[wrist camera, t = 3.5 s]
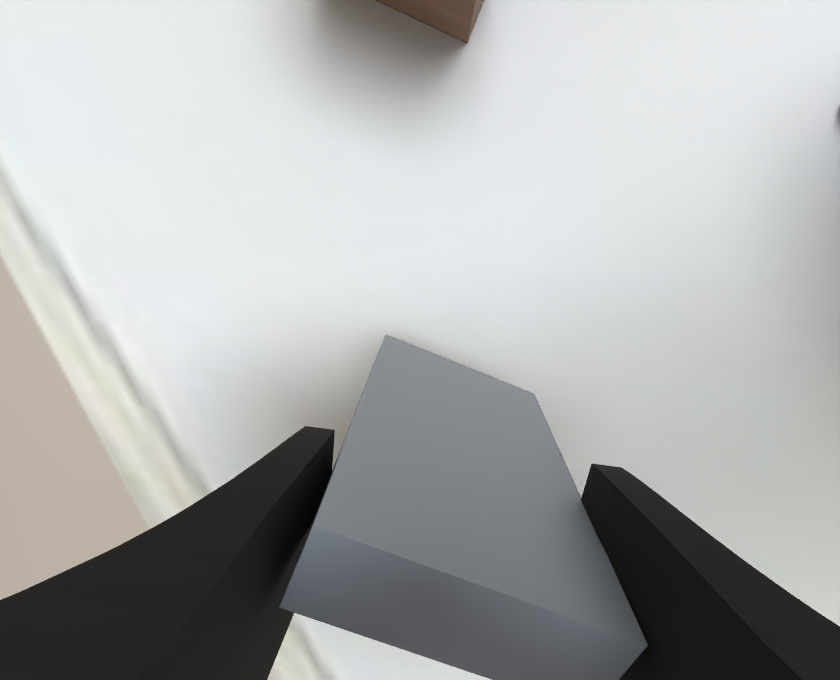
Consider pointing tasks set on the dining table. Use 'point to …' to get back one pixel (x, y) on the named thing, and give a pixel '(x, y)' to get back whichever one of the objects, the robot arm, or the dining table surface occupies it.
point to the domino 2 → (462, 532)
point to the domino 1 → (442, 14)
